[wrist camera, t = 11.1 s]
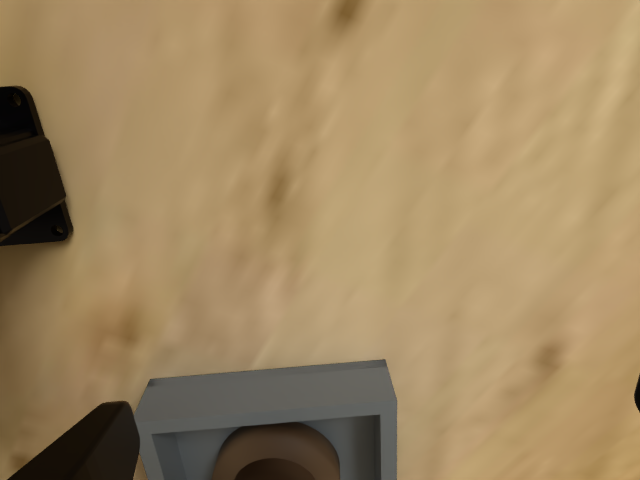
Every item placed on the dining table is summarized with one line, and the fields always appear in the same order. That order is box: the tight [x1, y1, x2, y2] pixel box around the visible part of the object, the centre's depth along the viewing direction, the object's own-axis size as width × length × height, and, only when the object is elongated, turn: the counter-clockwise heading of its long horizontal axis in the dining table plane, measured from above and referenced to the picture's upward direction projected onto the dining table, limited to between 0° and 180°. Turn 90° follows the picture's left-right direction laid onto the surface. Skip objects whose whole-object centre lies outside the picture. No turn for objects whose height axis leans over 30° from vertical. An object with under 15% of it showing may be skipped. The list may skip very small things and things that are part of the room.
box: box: [134, 360, 397, 480], centre depth 24 cm, size 13×13×3 cm
